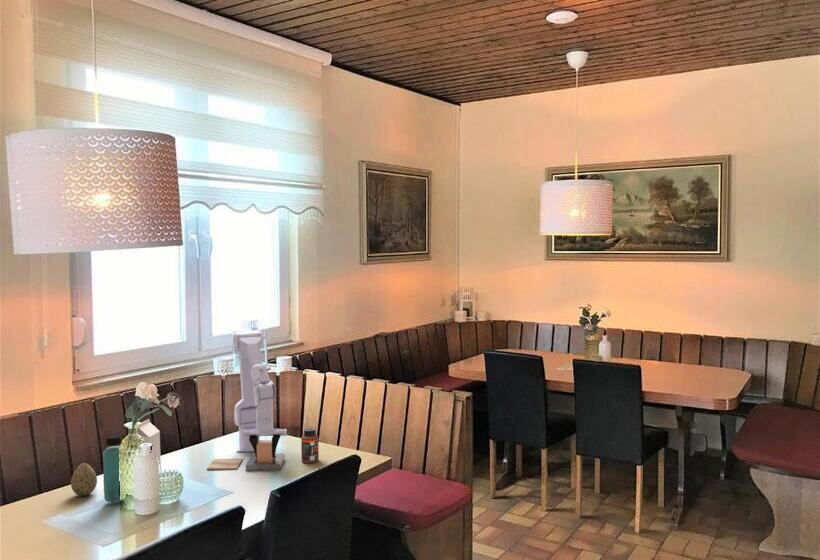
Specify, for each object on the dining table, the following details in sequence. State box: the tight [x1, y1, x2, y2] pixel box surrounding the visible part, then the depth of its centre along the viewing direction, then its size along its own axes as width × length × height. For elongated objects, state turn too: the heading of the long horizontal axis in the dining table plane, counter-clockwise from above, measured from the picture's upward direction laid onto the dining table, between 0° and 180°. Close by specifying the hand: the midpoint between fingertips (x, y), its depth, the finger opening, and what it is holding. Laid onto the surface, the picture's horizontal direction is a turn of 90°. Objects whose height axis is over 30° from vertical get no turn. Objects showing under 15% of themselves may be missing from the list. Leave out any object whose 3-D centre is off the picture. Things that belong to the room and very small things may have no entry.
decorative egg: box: [70, 462, 98, 497], centre depth 204 cm, size 7×7×10 cm
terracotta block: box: [257, 439, 274, 462], centre depth 231 cm, size 5×5×8 cm
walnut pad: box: [206, 458, 244, 471], centre depth 231 cm, size 10×10×1 cm
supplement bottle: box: [300, 427, 320, 464], centre depth 235 cm, size 6×6×11 cm
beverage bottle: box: [102, 434, 122, 503], centre depth 198 cm, size 6×7×20 cm
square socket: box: [245, 453, 286, 472], centre depth 231 cm, size 12×12×2 cm
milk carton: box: [138, 418, 162, 471], centre depth 218 cm, size 7×7×19 cm
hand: (265, 456), depth 231 cm, fingers closed on terracotta block, 5 cm apart
